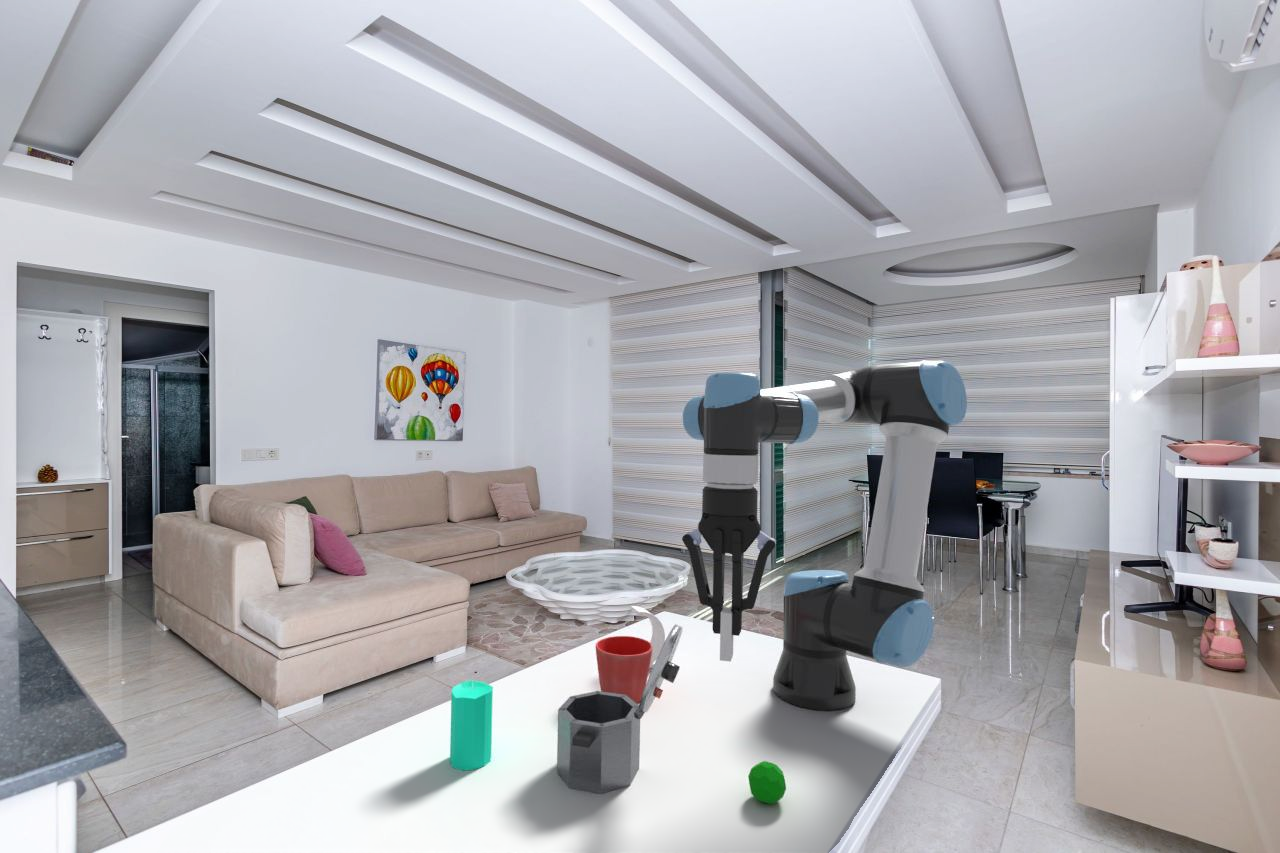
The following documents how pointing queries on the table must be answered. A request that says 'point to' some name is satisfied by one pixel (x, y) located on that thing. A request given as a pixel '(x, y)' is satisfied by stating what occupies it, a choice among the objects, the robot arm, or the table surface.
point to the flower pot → (624, 665)
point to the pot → (598, 741)
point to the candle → (471, 725)
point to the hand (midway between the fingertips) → (726, 657)
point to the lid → (660, 672)
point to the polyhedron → (767, 782)
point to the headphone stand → (653, 632)
